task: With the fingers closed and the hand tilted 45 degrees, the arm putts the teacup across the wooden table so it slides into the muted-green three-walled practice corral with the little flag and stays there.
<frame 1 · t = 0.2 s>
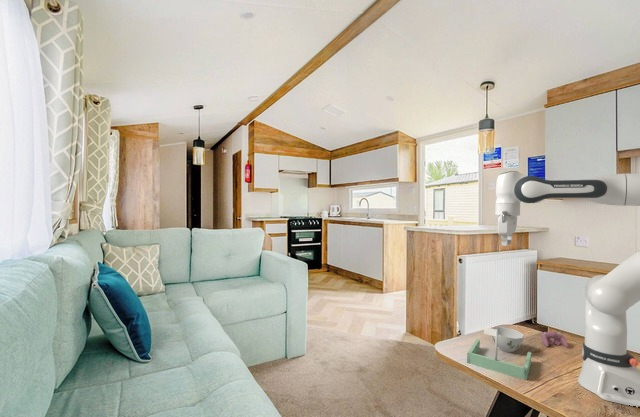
hand: (506, 244, 131), 48 cm above the table, tool pointing down, fingers open, 8 cm apart
video game controller: (553, 345, 147), on the table
teacup: (505, 348, 143), on the table
corral: (499, 361, 130), on the table
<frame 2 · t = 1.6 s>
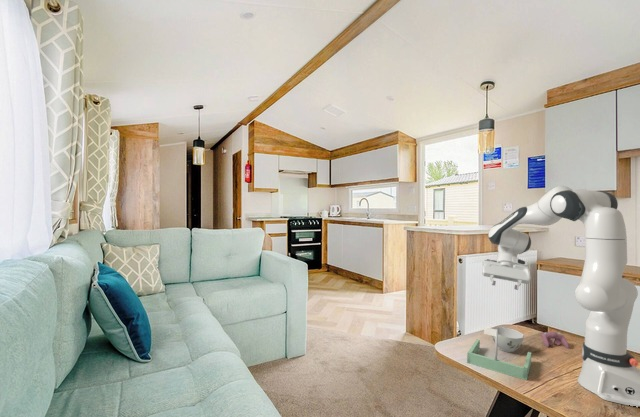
hand: (504, 286, 152), 25 cm above the table, tool tilted 40°, fingers open, 8 cm apart
nothing on the table moved.
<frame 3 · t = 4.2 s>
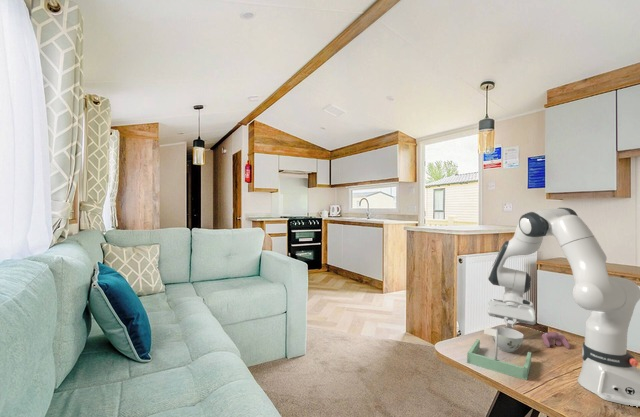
hand: (509, 327, 153), 5 cm above the table, tool tilted 45°, fingers closed
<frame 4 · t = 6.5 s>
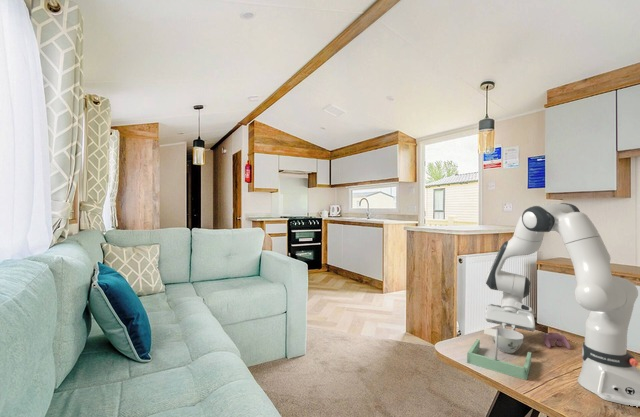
hand: (507, 334, 147), 5 cm above the table, tool tilted 45°, fingers closed
teacup: (505, 349, 142), on the table, touching gripper
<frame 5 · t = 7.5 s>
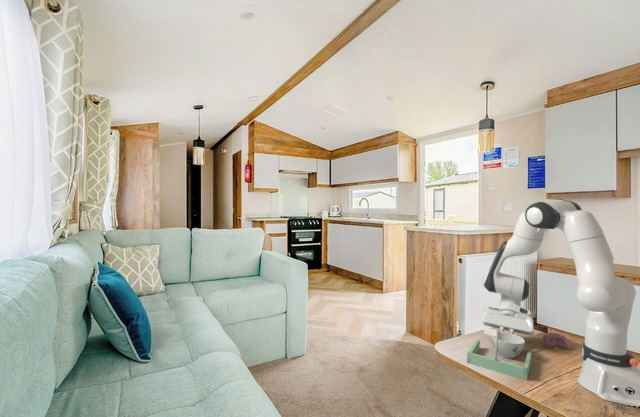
hand: (505, 338, 142), 5 cm above the table, tool tilted 45°, fingers closed, pressing on teacup
teacup: (504, 354, 137), on the table, touching gripper
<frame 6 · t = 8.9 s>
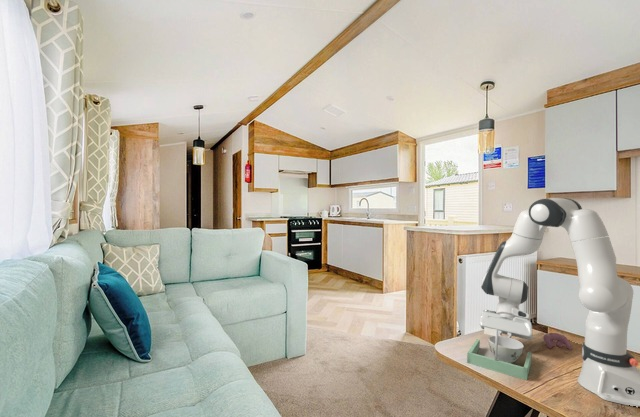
hand: (503, 342, 137), 5 cm above the table, tool tilted 45°, fingers closed, pressing on teacup
teacup: (502, 359, 133), on the table, touching gripper
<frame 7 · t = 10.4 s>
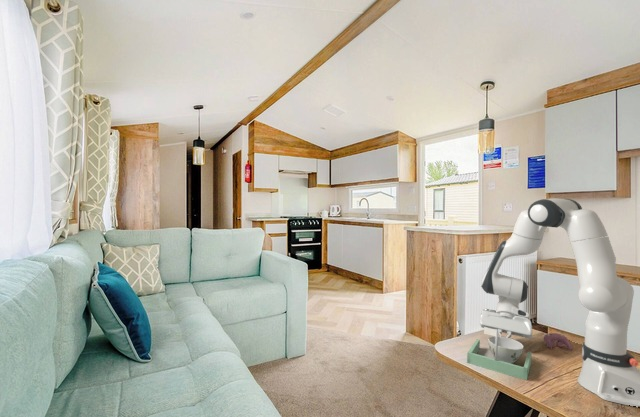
hand: (503, 341, 139), 5 cm above the table, tool tilted 45°, fingers closed
teacup: (502, 360, 132), on the table
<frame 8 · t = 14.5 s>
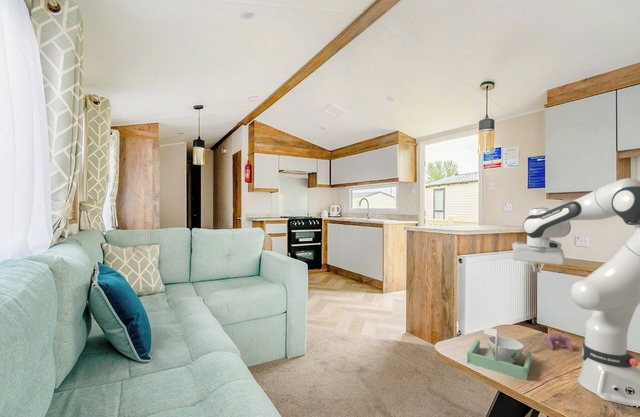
hand: (537, 272, 149), 33 cm above the table, tool pointing down, fingers closed
at the end: teacup inside the target area (4.2 cm from its centre), on the table; teacup tilted 0°; teacup moved 13.0 cm from its start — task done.
